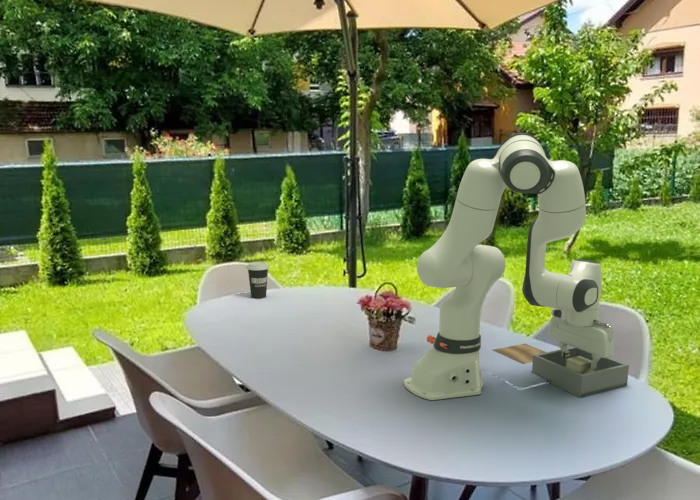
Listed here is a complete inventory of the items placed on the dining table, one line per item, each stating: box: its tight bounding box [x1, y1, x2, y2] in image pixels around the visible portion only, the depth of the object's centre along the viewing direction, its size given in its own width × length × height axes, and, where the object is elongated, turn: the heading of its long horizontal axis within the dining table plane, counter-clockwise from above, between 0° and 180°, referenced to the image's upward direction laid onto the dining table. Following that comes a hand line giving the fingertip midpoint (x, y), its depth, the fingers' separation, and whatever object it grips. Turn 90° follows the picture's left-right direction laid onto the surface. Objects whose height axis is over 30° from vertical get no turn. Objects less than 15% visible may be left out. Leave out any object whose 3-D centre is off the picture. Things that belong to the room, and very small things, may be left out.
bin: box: [531, 346, 630, 399], centre depth 171 cm, size 18×18×6 cm
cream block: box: [566, 356, 593, 374], centre depth 170 cm, size 5×5×5 cm
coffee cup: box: [246, 261, 270, 300], centre depth 263 cm, size 10×10×15 cm
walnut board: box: [492, 343, 547, 365], centre depth 190 cm, size 14×14×1 cm
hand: (578, 362), depth 171 cm, fingers open, 8 cm apart
